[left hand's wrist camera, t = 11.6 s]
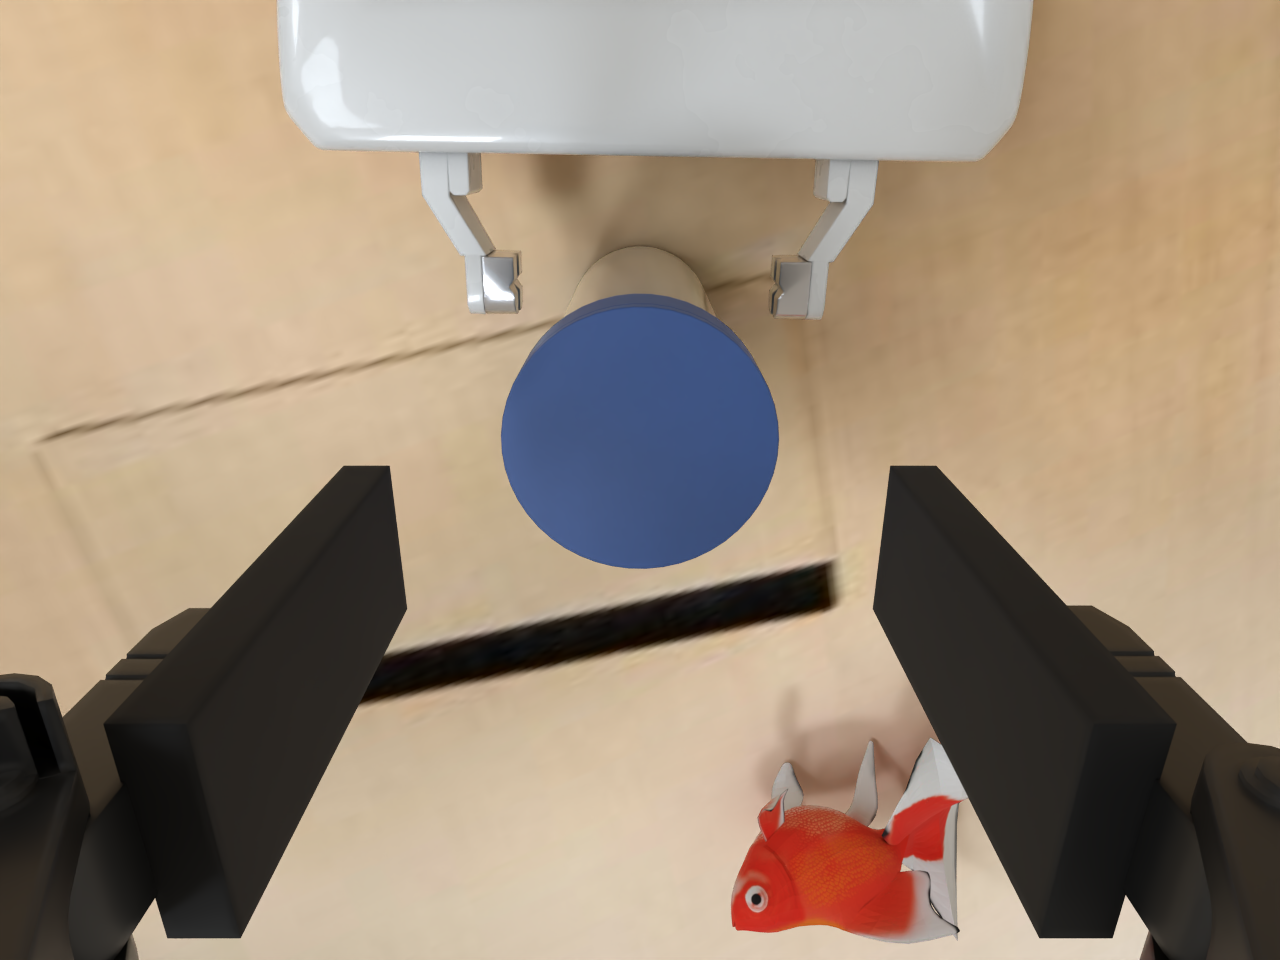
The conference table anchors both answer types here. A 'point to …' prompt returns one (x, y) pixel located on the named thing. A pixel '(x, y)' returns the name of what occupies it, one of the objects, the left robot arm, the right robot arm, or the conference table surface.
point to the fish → (857, 859)
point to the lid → (640, 432)
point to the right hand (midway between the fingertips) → (645, 314)
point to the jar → (640, 278)
